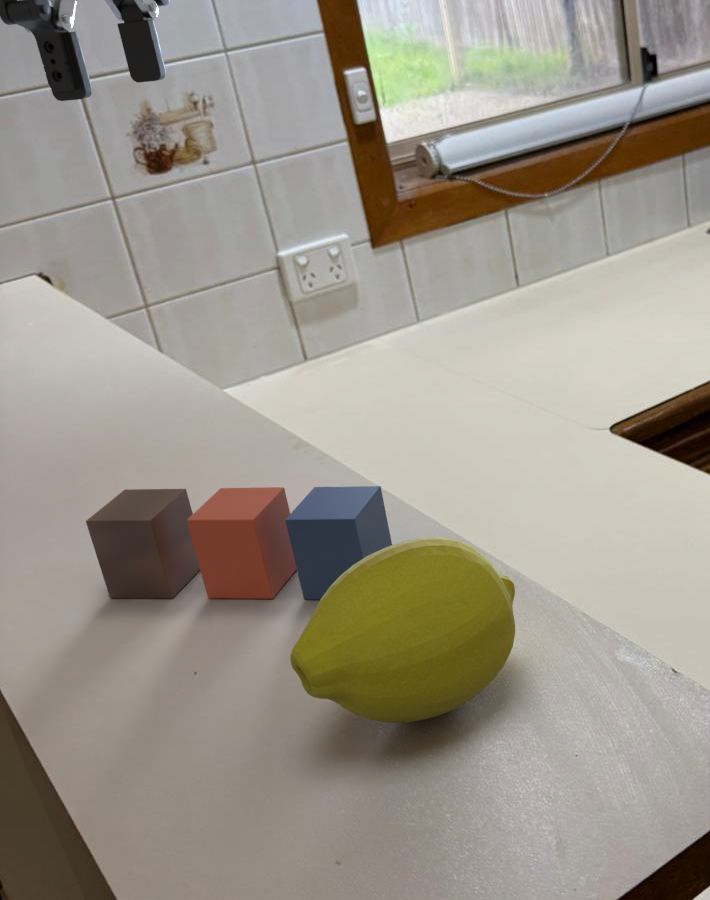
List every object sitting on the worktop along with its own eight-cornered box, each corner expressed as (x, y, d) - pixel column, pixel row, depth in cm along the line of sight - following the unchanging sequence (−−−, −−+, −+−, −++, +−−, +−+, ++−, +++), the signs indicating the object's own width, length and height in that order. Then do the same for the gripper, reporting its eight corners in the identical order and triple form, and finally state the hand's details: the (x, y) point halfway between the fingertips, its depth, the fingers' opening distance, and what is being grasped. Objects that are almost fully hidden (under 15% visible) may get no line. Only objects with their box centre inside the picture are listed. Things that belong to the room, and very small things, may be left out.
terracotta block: (207, 598, 64) (185, 520, 62) (240, 563, 68) (220, 487, 66) (273, 599, 63) (253, 519, 61) (302, 563, 67) (284, 486, 65)
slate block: (303, 599, 63) (284, 519, 61) (331, 563, 67) (314, 486, 65) (371, 600, 62) (354, 519, 60) (396, 563, 66) (380, 485, 64)
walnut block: (109, 598, 65) (85, 521, 63) (146, 563, 69) (124, 489, 67) (172, 598, 65) (150, 520, 63) (206, 563, 68) (186, 488, 66)
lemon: (496, 627, 58) (474, 487, 55) (565, 702, 52) (545, 549, 49) (288, 705, 54) (251, 557, 51) (336, 797, 47) (296, 635, 44)
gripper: (54, -186, 72) (122, 81, 79) (-111, -209, 59) (-13, 111, 66) (161, -202, 71) (222, 71, 77) (16, -229, 58) (103, 101, 64)
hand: (114, 89), depth 72 cm, fingers open, 8 cm apart
